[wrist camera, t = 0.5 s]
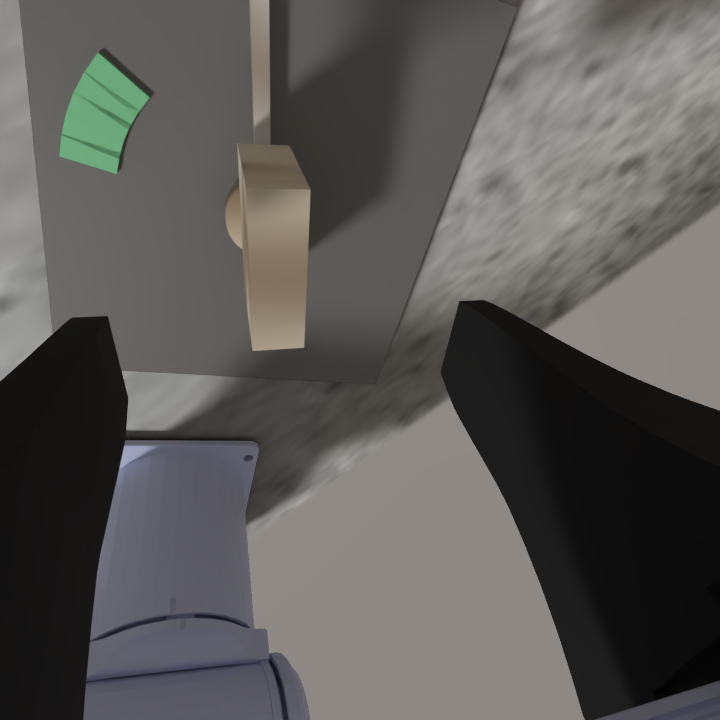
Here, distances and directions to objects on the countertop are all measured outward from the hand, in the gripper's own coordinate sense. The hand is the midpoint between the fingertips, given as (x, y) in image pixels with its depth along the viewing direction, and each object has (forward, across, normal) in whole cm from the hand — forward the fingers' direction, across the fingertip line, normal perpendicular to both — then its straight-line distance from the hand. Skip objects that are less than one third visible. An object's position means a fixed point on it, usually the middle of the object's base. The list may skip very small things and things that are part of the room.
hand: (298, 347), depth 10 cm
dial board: (+10, 0, 0) cm, 10 cm away
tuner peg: (+9, 0, -2) cm, 9 cm away
